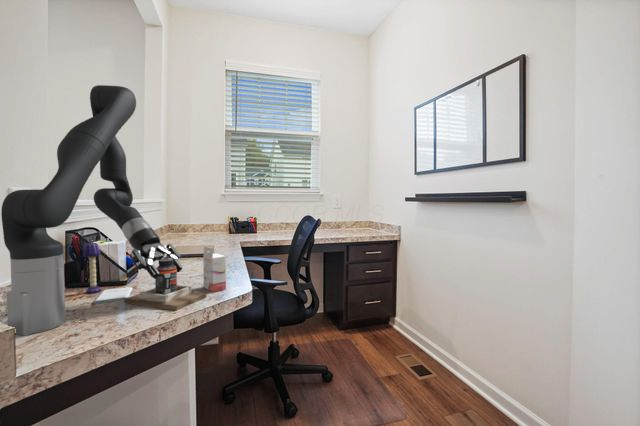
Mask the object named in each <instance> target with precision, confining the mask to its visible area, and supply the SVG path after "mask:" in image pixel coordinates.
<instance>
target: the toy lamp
mask: <svg viewBox="0 0 640 426" xmlns="http://www.w3.org/2000/svg"><path fill="white" fill-rule="evenodd" d="M100 255H101V251H100V248H99V246H98V243H97V242H90V243H89V242H88V243H85V245H84V248H83V252H82V256H83V257H86V258H87V257H88V260H89V261H88V264H89V266H88V268H89V287H88V288H86V290H85V294H88V295H92V294H93V295H94V294H99V293H102V292H103V291H102V287H100V286H98V283H97V265H96V263H97V260H96V257H98V256H100Z"/></svg>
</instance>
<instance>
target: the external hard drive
mask: <svg viewBox="0 0 640 426" xmlns="http://www.w3.org/2000/svg"><path fill="white" fill-rule="evenodd" d="M132 291H133V287H131V286H127V287H119V288H111V289H104V290H103V291H101V292H100V294H99V295H98V296H97V297H96V298H95V300H94V301H93V305H99V304H108V303H116V302H123V301H124V299H125V298H128V297H130V294H131V293H132ZM124 302H125V301H124Z"/></svg>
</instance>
